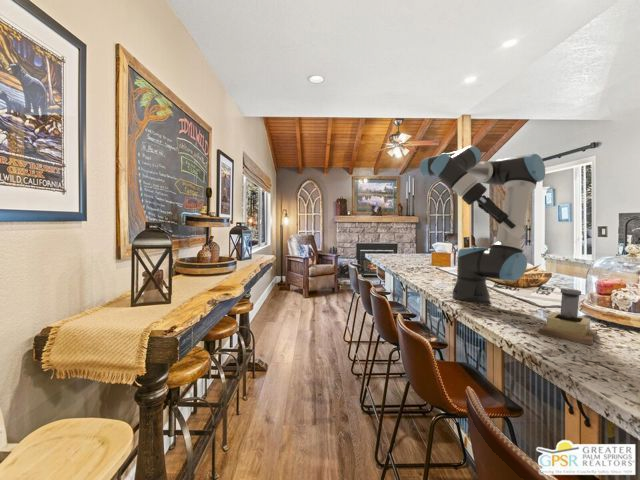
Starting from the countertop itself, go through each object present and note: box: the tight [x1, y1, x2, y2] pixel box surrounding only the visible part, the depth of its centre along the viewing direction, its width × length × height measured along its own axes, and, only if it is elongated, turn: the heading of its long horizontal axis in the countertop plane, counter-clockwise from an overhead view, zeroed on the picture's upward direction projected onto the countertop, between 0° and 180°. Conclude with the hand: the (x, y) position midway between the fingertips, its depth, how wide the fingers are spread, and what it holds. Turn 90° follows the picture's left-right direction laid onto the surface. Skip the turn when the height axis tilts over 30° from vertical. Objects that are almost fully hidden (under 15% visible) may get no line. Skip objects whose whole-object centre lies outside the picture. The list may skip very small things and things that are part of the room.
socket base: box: [538, 322, 598, 346], centre depth 94 cm, size 12×12×2 cm
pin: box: [560, 287, 582, 322], centre depth 93 cm, size 5×5×12 cm
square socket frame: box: [546, 311, 591, 337], centre depth 94 cm, size 9×9×4 cm
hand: (519, 235), depth 100 cm, fingers open, 13 cm apart
